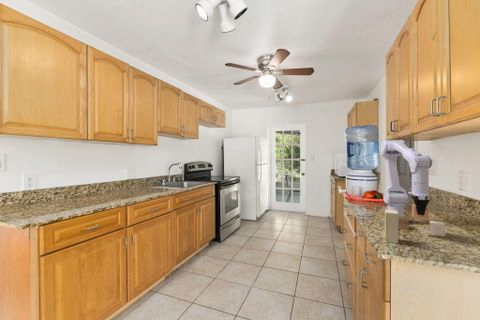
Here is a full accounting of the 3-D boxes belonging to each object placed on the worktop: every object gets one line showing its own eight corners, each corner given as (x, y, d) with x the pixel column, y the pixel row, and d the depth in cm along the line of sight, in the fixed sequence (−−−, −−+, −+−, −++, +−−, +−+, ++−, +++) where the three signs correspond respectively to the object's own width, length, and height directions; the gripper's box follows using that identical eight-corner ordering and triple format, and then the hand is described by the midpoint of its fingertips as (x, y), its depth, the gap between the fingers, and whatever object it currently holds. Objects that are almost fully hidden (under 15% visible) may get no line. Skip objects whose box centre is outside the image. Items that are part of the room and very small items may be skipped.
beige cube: (430, 231, 100) (430, 220, 100) (444, 233, 97) (444, 222, 97) (429, 234, 96) (429, 223, 96) (445, 236, 93) (445, 225, 93)
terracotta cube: (412, 215, 99) (412, 204, 99) (426, 216, 96) (426, 205, 96) (413, 217, 95) (413, 206, 95) (428, 219, 92) (428, 207, 92)
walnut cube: (393, 225, 109) (393, 215, 109) (405, 226, 107) (405, 216, 107) (396, 228, 104) (395, 218, 104) (408, 229, 102) (408, 219, 102)
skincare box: (384, 237, 93) (384, 209, 93) (397, 239, 91) (397, 210, 91) (385, 242, 88) (385, 212, 87) (398, 244, 85) (398, 213, 85)
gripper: (407, 180, 104) (407, 209, 104) (409, 183, 92) (409, 215, 92) (426, 181, 99) (426, 211, 100) (431, 185, 88) (431, 218, 88)
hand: (420, 213), depth 95 cm, fingers closed on terracotta cube, 5 cm apart
